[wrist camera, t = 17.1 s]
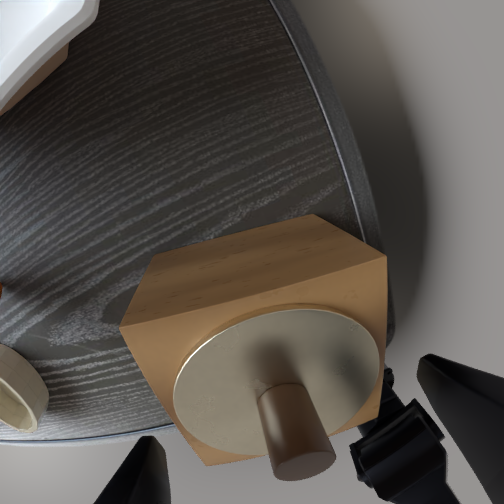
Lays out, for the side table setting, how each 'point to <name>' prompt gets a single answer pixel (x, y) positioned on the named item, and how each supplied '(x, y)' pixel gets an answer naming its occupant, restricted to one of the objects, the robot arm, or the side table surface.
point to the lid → (278, 385)
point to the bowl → (36, 41)
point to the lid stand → (251, 299)
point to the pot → (21, 392)
